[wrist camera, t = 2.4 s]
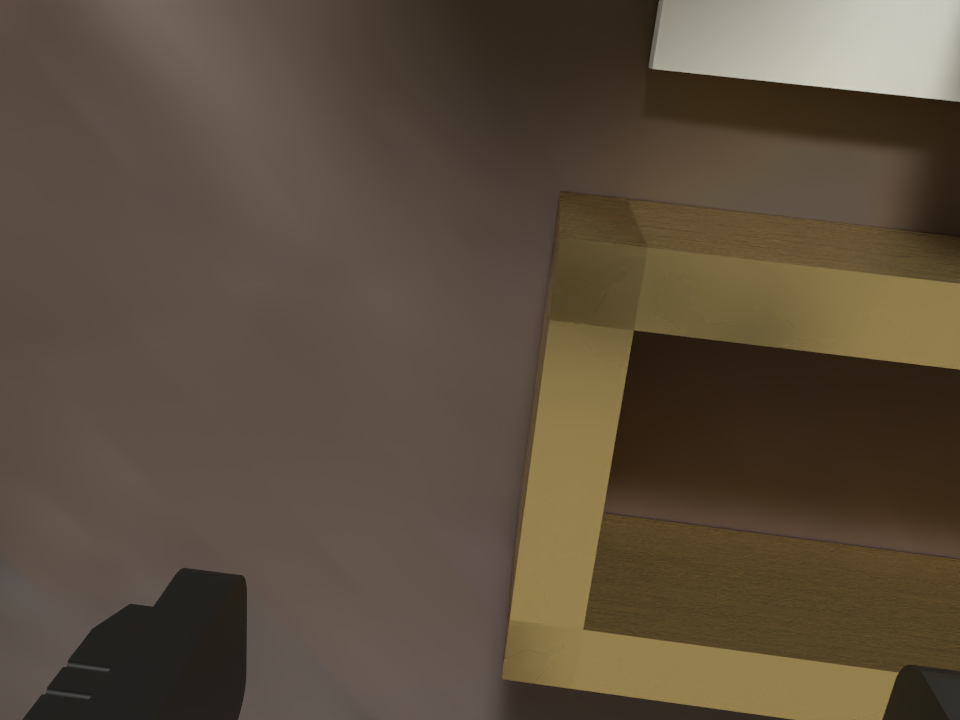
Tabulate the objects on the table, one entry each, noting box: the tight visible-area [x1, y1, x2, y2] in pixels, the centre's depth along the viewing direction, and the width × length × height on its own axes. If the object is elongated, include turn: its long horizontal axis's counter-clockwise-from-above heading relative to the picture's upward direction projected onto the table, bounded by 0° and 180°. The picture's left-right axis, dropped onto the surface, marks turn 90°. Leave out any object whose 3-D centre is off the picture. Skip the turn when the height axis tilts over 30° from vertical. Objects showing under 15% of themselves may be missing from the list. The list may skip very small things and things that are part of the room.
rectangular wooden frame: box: [502, 191, 960, 720], centre depth 17 cm, size 15×9×4 cm, turn 84°
